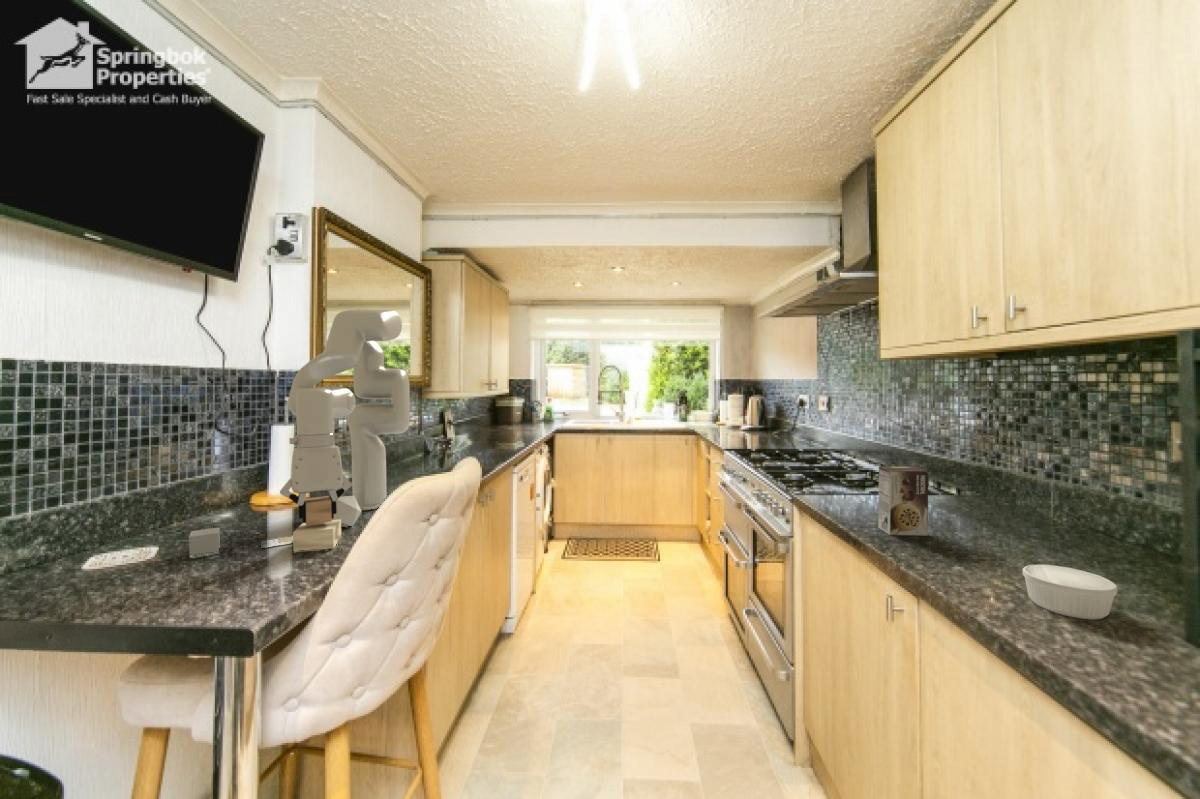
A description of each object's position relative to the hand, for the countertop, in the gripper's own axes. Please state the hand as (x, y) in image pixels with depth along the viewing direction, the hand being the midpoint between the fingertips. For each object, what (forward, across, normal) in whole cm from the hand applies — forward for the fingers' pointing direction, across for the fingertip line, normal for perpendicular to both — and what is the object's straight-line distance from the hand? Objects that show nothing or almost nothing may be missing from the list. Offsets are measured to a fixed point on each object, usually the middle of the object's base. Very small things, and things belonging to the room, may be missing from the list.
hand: (318, 518), depth 112 cm
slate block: (+6, -21, +9) cm, 24 cm away
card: (+6, -7, +8) cm, 12 cm away
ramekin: (+7, +98, -110) cm, 147 cm away
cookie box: (+7, +120, -76) cm, 142 cm away
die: (+7, +7, +14) cm, 17 cm away
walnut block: (0, 0, 0) cm, 0 cm away
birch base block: (+7, 0, 0) cm, 7 cm away
